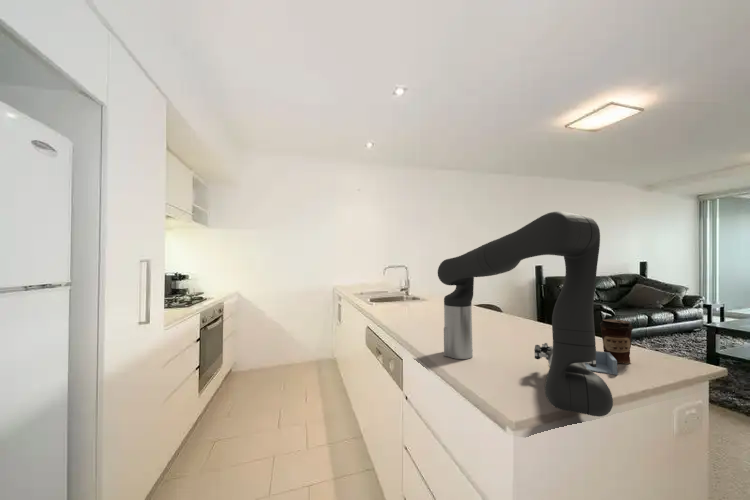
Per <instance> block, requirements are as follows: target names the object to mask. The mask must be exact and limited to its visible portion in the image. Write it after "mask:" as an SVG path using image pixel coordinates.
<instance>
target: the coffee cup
mask: <svg viewBox="0 0 750 500" xmlns="http://www.w3.org/2000/svg"><path fill="white" fill-rule="evenodd" d="M599 326H600V333H601V340H602V345H603V349H602V350H603V352H610V353H611V355H612V356H613V357H614V358H615V359H616V360H617V364H623V365H624V364H626V365H627V364H632V362H631V357H630V356H631V347H632V332H633V330H634V326H633V325H632V324H631V321H627V320H624V319H623V320H622V319H608V318H607V319H602V321H601V322H600V323H599Z"/></svg>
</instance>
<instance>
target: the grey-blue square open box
mask: <svg viewBox="0 0 750 500" xmlns="http://www.w3.org/2000/svg"><path fill="white" fill-rule="evenodd" d="M585 365H586V367H587V369H588V370H590V371H592V372H593V373H601V374H608V375H613V376H614V375H616V376H618V375H619V374H618V373H619V372H618V363H617V360H616V359H615V358H614V357H613V356H612V355H611V353H610V352H604V351H601V350H596V367H592V366H590V365H588V364H587V363H585Z"/></svg>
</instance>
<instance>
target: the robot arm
mask: <svg viewBox="0 0 750 500" xmlns="http://www.w3.org/2000/svg"><path fill="white" fill-rule="evenodd" d="M600 232H601V231H600V226H599V225H598V223H597V222H596V220H594V219H593V218H592V217H590V216H588V215H583V214H578V213H573V212H567V211H552V212H547V213H545V214H543V215H541V216H539V217H537V218H536V219H534V220H532V221H530V222H529V223H527V224H525V225H524V226H522V227H521V228H519V229H517V230H515V231H513V232H510V233H508V234H506V235H504V236H501V237H499V238H497V239H494V240H491V241H489V242H487V243H485V244H483V245H480V246H478V247H477V248H474V249H472V250H469V251H467V252H466V253H463V254H461V255H459V256H455V257H450V258H447V259H444V260H442V261H441V262H440V265H438V267H437V268H438V269H437V278H438V279H439V281H440V282H441V283H442V284H444V285H446V286H455V289H454V291H451V292H450V293H449V294H447V295H445V296H444V299H443V319H444V320H443V321H444V324H443V325H444V327H443V356H444V357H448V358H450V359H451V358H452V359H456V360H469V359H471V358H473V356H474V355H473V354H474V353H473V352H474V351H473V319H472V317H473V316H472V314H473V313H472V311H473V310H472V308H473V306H472V305H473V304H472V301H473V299H474V298H473V297H474V287H475V286H474V284H475V281H474V280H475V278H481V277H483V278H484V277H491V276H497V275H500V274H504V273H508V272H511V271H512V270H514V269H515V268H517V266H519V264H520V263H521V261H523V260H525V259H529V258H533V257H539V256H557V257H563V259H564V264H565V276H564V280H563V285H562V288H561V290H560V293H559V295H558V297H557V299H556V301H555V304H554V307H553V310H552V315H551V328H552V346H551V345H549V344H548V342H544V343H542V344H541V345H540V344H535V345H534V359H535V360H540V359H542V358H545V359H546V360H547V361H548V368H549V369H548V372H547V376H546V379H545V384H544V393H545V397H546V399H547V400H548V402H549V404H550V405H551V406H552V407H553V408H556V409H559V410H563V411H568V412H571V413H579V414H583V415H587V416H592V417H605V416H607V415H608V414H610V412H611V411H612V409H613V404H614V400H613V398H614V397H613V395H612V391H611V390H610V388H609V385H608V384H607V383H606V382H605V380H604V379H603V378H602V377H601V376H600V375H598V374H597V373H596V372H593V371H590V370H588V369H587V367H586V365H585V363H587V364H588V365H590V366H592V367H596V351H597V348H596V347H597V346H596V331H595V318H594V317H595V316H594V302H595V300H594V299H595V290H596V282H597V273H598V272H597V271H598V262H599V254H600V247H601V245H600V244H601V233H600Z"/></svg>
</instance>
